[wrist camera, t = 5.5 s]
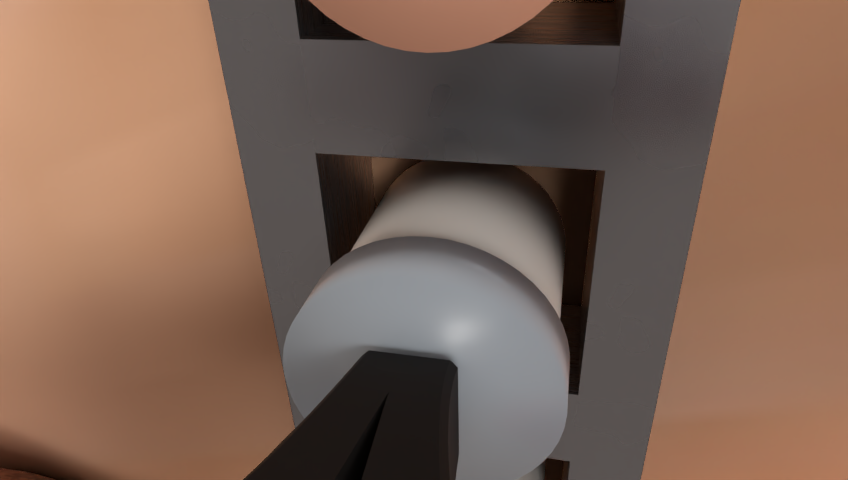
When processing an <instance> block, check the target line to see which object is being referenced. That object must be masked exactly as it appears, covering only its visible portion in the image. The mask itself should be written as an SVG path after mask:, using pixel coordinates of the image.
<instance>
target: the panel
mask: <svg viewBox="0 0 848 480" xmlns="http://www.w3.org/2000/svg"><path fill="white" fill-rule="evenodd" d="M208 1H209V6H210V11H211V16H212V21H213V25H214V30H215V35H216V40H217V45H218V50H219V55H220V60H221V65H222V70H223V75H224V80H225V85H226V90H227V95H228V99H229V104H230V109H231V114H232V119H233V124H234V129H235V134H236V139H237V144H238V149H239V154H240V159H241V164H242V168H243V173H244V178H245V183H246V188H247V193H248V198H249V203H250V208H251V213H252V218H253V223H254V228H255V233H256V238H257V242H258V247H259V252H260V257H261V262H262V267H263V272H264V277H265V282H266V287H267V292H268V297H269V302H270V307H271V312H272V316H273V321H274V326H275V331H276V336H277V341H278V346H279V351H280V356H281V361H282V366H283V349H284V344H285V340H286V336H287V333H288V331H289V329H290V326H291V324H292V322H293V321H294V319H295V317H296V316H297V314H298V313H299V311H300V309H301V308H302V306H303V305H304V303H305V302H306V300H307V298H308V297H309V295H310V294H311V292H312V290H313V289H314V287H315V286H316V284H317V283H318V281H319V280H320V278H321V277H322V275H323V274H324V273H325V272H326V271H327V270H328V268H329V267H330V266H331V265H332V264H333V263H335V262H336V261H337V260H339V259H340V258H341V257H342V256H344V255H345V254H347V253H349V252H350V251H351V250H352V248H353V246H354V245H355V243H356V241H357V240H358V238H359V236H360V235H361V233H362V231H363V230H364V228H365V226H366V225H367V223H368V221H369V220H370V218H371V216H372V215H373V213H374V211H375V200H374V189H373V177H372V166H371V157H388V158H404V159H421V160H437V161H454V162H471V163H487V164H504V165H520V166H537V167H554V168H570V169H587V170H596V179H595V188H594V197H593V206H592V214H591V223H590V232H589V241H588V250H587V259H586V268H585V277H584V286H583V295H582V303H581V306H575V305H566V304H561V316H560V320H561V322H562V324H563V327H564V330H565V333H566V336H567V339H568V345H569V352H570V370H569V389H568V409H567V418H566V423H565V428H564V431H563V433H562V435H561V438H560V440H559V442H558V444H557V445H556V447H555V448H554V450H553V451H552V453H551V454H550V455H549V456H548V457H547V458H550V459H557V460H563V461H564V463H563V472H562V480H640V479H641V475H642V470H643V465H644V460H645V455H646V451H647V446H648V441H649V436H650V432H651V427H652V422H653V417H654V413H655V408H656V403H657V398H658V393H659V389H660V384H661V379H662V374H663V370H664V365H665V360H666V355H667V350H668V346H669V341H670V336H671V331H672V327H673V322H674V317H675V312H676V307H677V303H678V298H679V293H680V288H681V284H682V279H683V274H684V269H685V264H686V260H687V255H688V250H689V245H690V241H691V236H692V231H693V226H694V221H695V217H696V212H697V207H698V202H699V198H700V193H701V188H702V183H703V178H704V174H705V169H706V164H707V159H708V155H709V150H710V145H711V140H712V136H713V131H714V126H715V121H716V116H717V112H718V107H719V102H720V97H721V93H722V88H723V83H724V78H725V73H726V69H727V64H728V59H729V54H730V50H731V45H732V40H733V35H734V30H735V26H736V21H737V16H738V11H739V7H740V2H741V0H616V1H615V3H591V2H551V3H550V4H549V5H548V6H546V7H545V8H544V9H543V10H542V11H541V12H539V13H538V14H537V15H536V16H535V17H533V18H532V19H531V20H529V21H527V22H526V23H524V24H523V25H521V26H520V27H518V28H517V29H515V30H514V31H512V32H510V33H508V34H506V35H503V36H501V37H499V38H497V39H495V40H493V41H490V42H487V43H484V44H481V45H478V46H475V47H472V48H467V49H462V50H456V51H451V52H434V53H424V52H413V51H404V50H400V49H395V48H391V47H387V46H383V45H380V44H378V43H375V42H372V41H370V40H367V39H364V38H362V37H360V36H358V35H356V34H355V33H353V32H351V31H349V30H347V29H345V28H343V27H342V26H340V25H339V24H338V23H336V22H335V21H333V20H332V19H330V18H329V17H327V16H326V15H325V14H324V13H322V12H321V11H320V10H319V9H318V8H317V7H316V6H314V5H313V4H312V3H311V2H310V1H309V0H208ZM283 371H284V368H283ZM285 381H286V379H285ZM286 386H287V383H286ZM287 390H288V386H287ZM288 395H289V400H290V405H291V410H292V415H293V420H294V425H295V428H296V427H297V426H298V425H299V424H300V423H301V422H302V421H303V420H304V417H303V416H302V415H301V413H300V411H299V410H298V408H297V406H296V405H295V403H294V401H293V399H292V397H291V394H290V392H289V390H288Z"/></svg>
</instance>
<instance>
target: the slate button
mask: <svg viewBox="0 0 848 480" xmlns="http://www.w3.org/2000/svg"><path fill="white" fill-rule="evenodd" d="M565 250H566V237H565V230H564V225H563V222H562V219H561V216H560V214H559V211H558V209H557V207H556V205H555V204H554V202H553V201H552V199H551V197H550V196H549V195H548V193H547V192H546V191H545V190H544V189H543V188H542V186H541V185H540V184H539V183H537V182H536V181H535V180H534V179H533V178H532V177H531V176H529V175H528V174H526V173H525V172H523V171H522V170H520V169H519V168H517V167H515V166H513V165H504V164H487V163H471V162H454V161H437V160H424V161H421V162H419V163H417V164H415V165H413V166H412V167H410V168H408V169H407V170H406V171H405V172H403V173H402V174H401V175H399V176H398V178H397V179H396V180H395V181H394V182H393V183H392V184H391V185H390V187H389V188H388V190H387V191H386V193H385V195H384V196H383V198H382V200H381V201H380V203H379V205H378V206H377V208H376V210H375V211H374V213H373V215H372V216H371V218H370V220H369V221H368V223H367V225H366V226H365V228H364V230H363V231H362V233H361V235H360V236H359V238H358V240H357V241H356V243H355V245H354V246H353V248H352V250H351V251H350V252H349V253H347V254H345V255H344V256H342V257H341V258H340V259H339V260H337V261H336V262H335V263H333V264H332V265H331V266H330V267H329V268H328V270H327V271H326V272H325V273H324V274H323V275H322V277H321V278H320V280H319V281H318V283H317V284H316V286H315V287H314V289H313V290H312V292H311V294H310V295H309V297H308V298H307V300H306V302H305V303H304V305H303V306H302V308H301V309H300V311H299V313H298V314H297V316H296V317H295V319H294V321H293V322H292V324H291V326H290V329H289V331H288V333H287V336H286V340H285V344H284V349H283V368H284V376H285V379H286V383H287V386H288V390H289V392H290V394H291V397H292V399H293V401H294V403H295V405H296V406H297V408H298V410H299V411H300V413H301V415H302V416H303V417H304V419H305V418H306V417H307V416H308V415H309V414H310V413H311V411H312V410H313V409H314V408H315V407H316V406H317V405H318V404H319V403H320V402H321V401H322V400H323V399H324V397H325V396H326V395H327V394H328V393H329V392H330V391H331V390H332V389H333V388H334V386H335V385H336V384H337V383H338V382H339V381H340V380H341V379H342V378H343V376H344V375H345V374H346V373H347V372H348V371H349V370H350V369H351V367H352V366H353V365H354V364H355V363H356V362H357V361H358V359H359V358H360V357H361V356H362V355H363V354H365V353H366V352H367V351H369V350H371V351H379V352H388V353H396V354H404V355H412V356H420V357H428V358H436V359H444V360H451V361H452V362H453V363H454V364H455V365H456V366H457V367H458V413H459V458H458V465H457V472H456V480H516V479H518V478H520V477H522V476H524V475H526V474H527V473H529V472H531V471H532V470H533V469H535V468H536V467H537V466H539V465H540V464H541V463H542V462H543V461H544V460H545V459H546V458H547V457H548V456H549V455H550V454H551V453H552V451H553V450H554V448H555V447H556V445H557V444H558V442H559V440H560V438H561V435H562V433H563V431H564V428H565V423H566V418H567V409H568V389H569V370H570V352H569V345H568V339H567V336H566V333H565V330H564V327H563V324H562V322H561V320H560V316H561V303H562V290H563V276H564V263H565Z"/></svg>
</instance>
